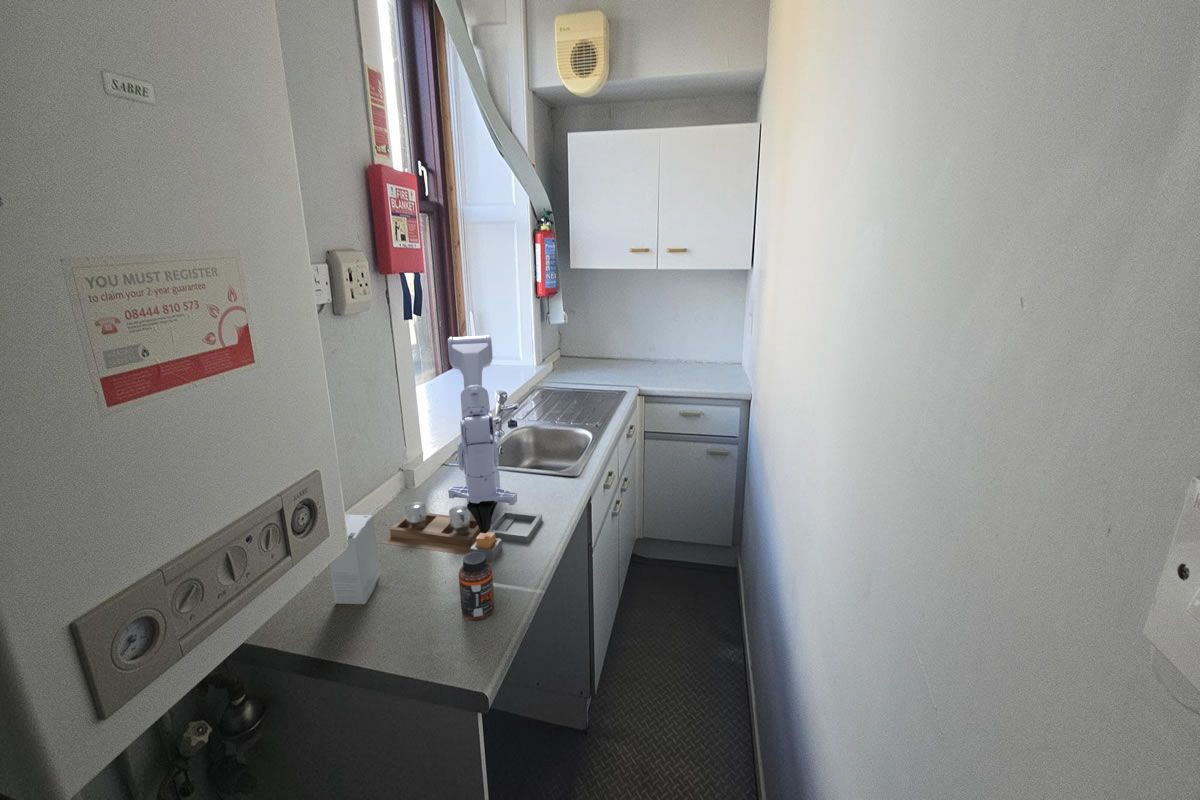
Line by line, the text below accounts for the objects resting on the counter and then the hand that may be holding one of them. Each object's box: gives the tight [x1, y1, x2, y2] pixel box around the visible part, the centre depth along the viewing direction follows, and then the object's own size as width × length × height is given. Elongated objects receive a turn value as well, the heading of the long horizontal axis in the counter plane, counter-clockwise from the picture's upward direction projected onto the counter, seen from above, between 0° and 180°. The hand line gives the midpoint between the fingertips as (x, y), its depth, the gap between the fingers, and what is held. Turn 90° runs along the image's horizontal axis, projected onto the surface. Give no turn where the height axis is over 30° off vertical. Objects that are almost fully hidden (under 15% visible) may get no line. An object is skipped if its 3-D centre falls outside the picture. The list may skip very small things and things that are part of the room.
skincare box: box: [328, 514, 381, 605], centre depth 104 cm, size 8×6×15 cm
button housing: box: [470, 537, 503, 563], centre depth 118 cm, size 5×5×3 cm
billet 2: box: [448, 505, 471, 536], centre depth 123 cm, size 4×4×6 cm
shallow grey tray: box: [488, 509, 543, 544], centre depth 128 cm, size 10×10×2 cm
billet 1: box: [404, 501, 427, 530], centre depth 126 cm, size 4×4×6 cm
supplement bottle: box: [458, 552, 495, 621], centre depth 99 cm, size 6×6×11 cm
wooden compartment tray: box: [380, 512, 494, 556], centre depth 125 cm, size 14×21×3 cm, turn 77°
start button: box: [476, 532, 496, 549], centre depth 117 cm, size 3×3×3 cm
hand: (485, 530), depth 116 cm, fingers closed
